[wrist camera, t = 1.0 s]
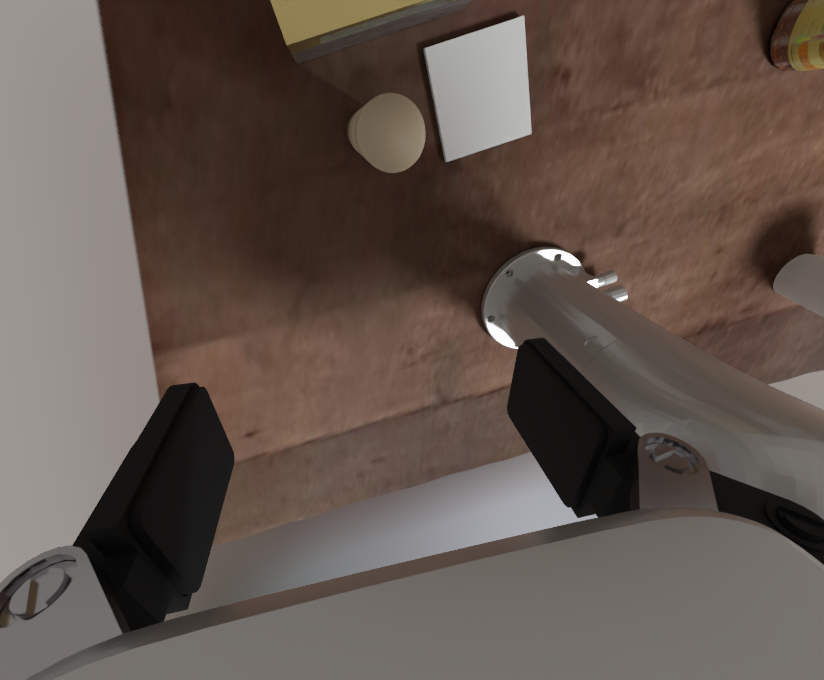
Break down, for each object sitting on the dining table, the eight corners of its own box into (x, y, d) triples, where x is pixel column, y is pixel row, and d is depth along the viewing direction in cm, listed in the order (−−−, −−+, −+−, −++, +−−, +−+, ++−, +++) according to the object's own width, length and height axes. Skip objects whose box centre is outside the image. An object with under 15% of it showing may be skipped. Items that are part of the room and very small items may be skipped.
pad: (520, 17, 26) (524, 15, 26) (528, 133, 31) (531, 133, 30) (423, 49, 26) (424, 47, 26) (444, 161, 31) (446, 162, 30)
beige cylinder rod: (378, 104, 28) (415, 82, 15) (390, 147, 29) (432, 161, 17) (341, 116, 28) (347, 105, 15) (355, 159, 29) (370, 181, 17)
